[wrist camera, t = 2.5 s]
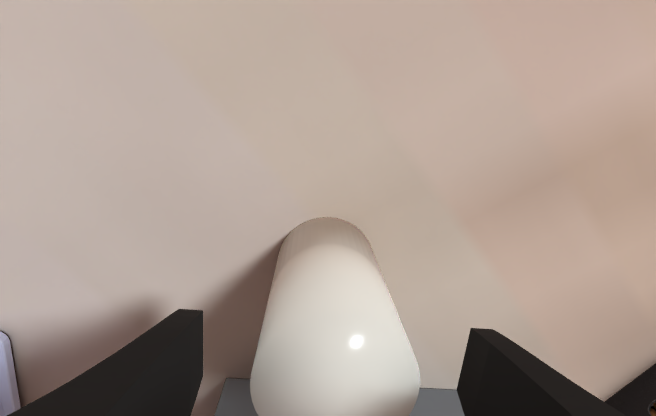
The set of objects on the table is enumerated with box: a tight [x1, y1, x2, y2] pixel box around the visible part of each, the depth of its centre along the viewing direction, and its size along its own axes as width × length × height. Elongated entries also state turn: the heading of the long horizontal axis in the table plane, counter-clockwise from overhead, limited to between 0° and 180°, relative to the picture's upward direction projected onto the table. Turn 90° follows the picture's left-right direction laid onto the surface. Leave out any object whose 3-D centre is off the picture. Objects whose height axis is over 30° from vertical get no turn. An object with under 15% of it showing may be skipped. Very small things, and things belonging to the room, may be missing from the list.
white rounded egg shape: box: [250, 217, 420, 416], centre depth 12 cm, size 4×4×7 cm
